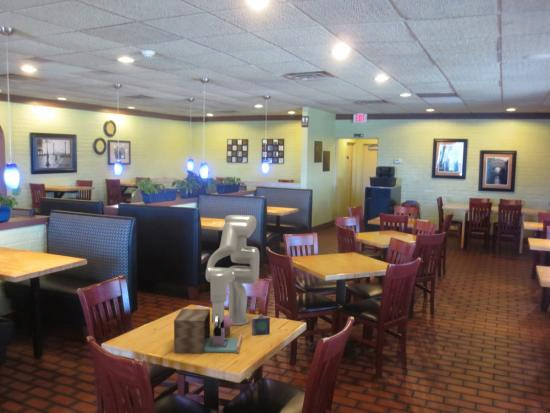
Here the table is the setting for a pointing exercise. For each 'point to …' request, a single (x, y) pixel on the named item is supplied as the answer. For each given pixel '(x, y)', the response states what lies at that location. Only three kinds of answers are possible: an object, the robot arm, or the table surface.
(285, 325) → the table surface
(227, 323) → the cupcake
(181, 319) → the cabinet
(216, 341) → the block
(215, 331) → the robot arm
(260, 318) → the flask
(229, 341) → the tray
